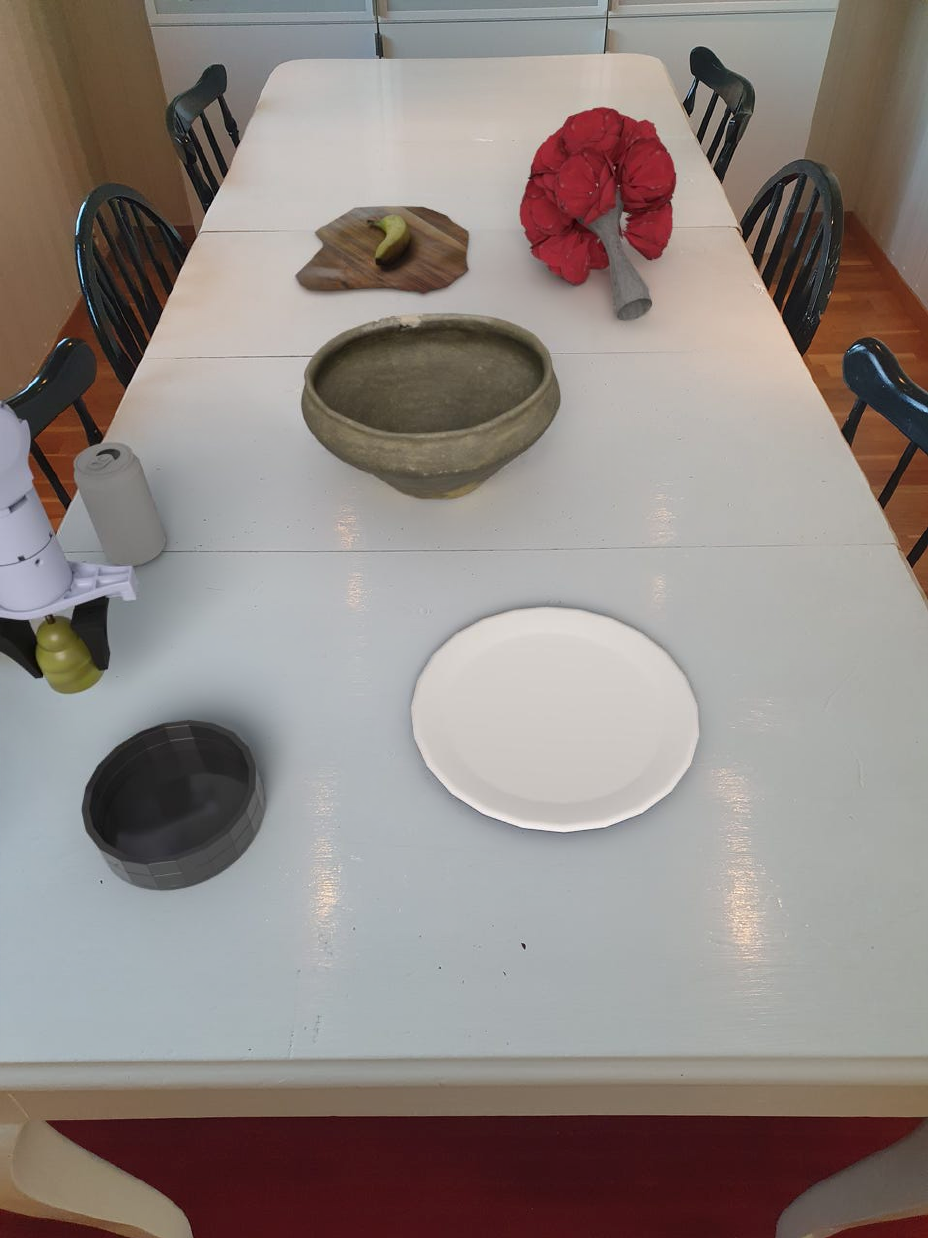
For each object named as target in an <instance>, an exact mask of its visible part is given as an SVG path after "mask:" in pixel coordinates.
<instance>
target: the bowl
mask: <svg viewBox="0 0 928 1238" xmlns="http://www.w3.org/2000/svg"><path fill="white" fill-rule="evenodd" d="M303 379H304V385H303V389H302V393H301V398H300V399H301V400H300V408H301V413H302V417H303V420H304V423H305V425H306V427H307V428H308V430H309V432H310V433H311V435H312V436H314V438H315V440H317V441H318V443H319V444H321V446H322V447H323V448H324V449H326V450H327V451H328V452H329V453H330V454H331V455H333V456H335V457H336V458H337V459H338V460H340V461H341V462H343V463H345V464H347V465H349V466H350V467H352V468H355V469H357V470H359V471H362V472H364V473H367V474H370V475H373V476H374V477H375V478H377V479H379V480H380V481H382V482H384V483H385V484H387V485H388V486H390V487H391V488H393V489H394V490H396V491H397V492H398V493H401V494H403V495H406V496H408V497H412V498H415V499H421V500H426V499H427V500H429V499H430V500H451V499H456V498H460V497H463V496H465V495H467V494H469V493H471V492H473V491H475V490H477V489H478V488H479V487H480V486H481V485H482V484H484V483H485V482H486V481H487V480H488V479H490V478H491V477H493V476H494V475H495V474H496V473H497V472H499V471H500V470H501V469H502V468H504V467H505V466H506V465H508V464H510V463H511V462H513V461H514V460H515V459H516V458H518V457H519V456H521V455H522V454H523V453H525V452H526V451H527V450H529V449H530V448H532V446H534V444H535V443H536V442H537V441H539V440H540V438H541V437H543V435H544V434H545V433H546V431H547V430H548V429H549V428H550V426H551V424H552V423H553V421H554V420H555V418H556V416H557V414H558V411H559V410H560V407H561V400H562V399H561V398H562V396H561V388H560V384H559V380H558V377H557V375H556V373H555V370H554V365H553V360H552V357H551V354H550V351H549V349H548V348H547V347H546V346H545V345H544V344H543V342H542V341H541V340H540V339H539V337H538V336H537V335H535V334H534V333H533V332H532V331H530V330H528V329H526V328H524V327H522V326H520V325H518V324H516V323H512V322H510V321H508V320H506V319H505V320H504V319H501V318H497V317H493V316H488V315H479V314H471V313H457V312H456V313H455V312H449V313H448V312H443V313H441V312H439V313H437V312H436V313H413V314H404V315H391V316H390V317H383V318H380V319H378V321H376V320H373V321H369V322H366V323H363V324H360V325H358V326H355V327H352V328H350V329H347V330H345V331H343V332H341V333H339V334H338V335H336V336H334V337H333V338H331V339H330V340H328V341H327V342H325V343H324V344H323V345H322V346H321V347H320V348H319V349H318V350H317V351H316V352H314V354H313V355H312V357H311V358H310V360H309V361H308V363H307V365H306V367H305V369H304V374H303Z"/></svg>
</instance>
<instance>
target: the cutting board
mask: <svg viewBox="0 0 928 1238" xmlns="http://www.w3.org/2000/svg"><path fill="white" fill-rule="evenodd" d="M314 233H315V235H316V236H317V237H318V238H319V239H320V240H321V241H322V247H321V248H320V249H319V250H318V251H317V252H316V253H315V254H314V255H313V257H312V258H311V259H310V260H309V261H308V262H307V263H306V264H305V265H304V266H303V267H302V268H301V269H300V270H299V271H298V272H297V273H296V274H295V275H294V276H295V278H296V280H297V281H298V282H299V285H300V286H302V287H304V288H306V289H308V290H314V291H315V290H317V291H337V290H350V289H367V288H368V289H369V288H370V289H371V288H389V289H396V290H403V291H416V292H419V293H421V294H426V293H427V292H428V291H432V290H437V289H440V288H446V287H447V286H448V285H450V284H451V283H453V282H454V281H455V280H456V279H458V278H459V277H460V276H461V275H462V274H464V273H465V272H467V271H468V270H469V267H468V262H467V253H468V252H467V250H468V244H469V230H467V229H466V228H464V227H462V226H461V225H459V224H457V223H456V222H455V221H453V220H451V218H450V217H449V216H448V215H446V214H443V213H442V212H440V211H436V210H434V209H431V208H428V207H425V206H415V205H414V206H413V205H412V206H411V205H408V206H407V205H406V206H405V205H394V206H393V205H380V206H379V205H377V206H358V207H353V208H351V209H350V210H348V211H347V212H345V213H344V214H342V215H340V216H339V217H337V218H335V219H333V220H332V221H330V222H329V223H327V224H325V225H322V226H321V227H319V228H318V229H317V230H315V231H314Z"/></svg>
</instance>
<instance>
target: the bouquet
mask: <svg viewBox="0 0 928 1238" xmlns="http://www.w3.org/2000/svg"><path fill="white" fill-rule="evenodd" d="M655 125H656V124H655V123H654V122H651V121H649V120H648V119H643V120H640V121H638V120H636V119H635V118H632V117H630V116H627V115H625V114H622V113H620V112H619V111H618V110H617V109H614V108H610V107H605V106H600V107H593V108H592V109H587V110H583V111H581V112H578V113H574V114H572V115H569V116H567V118H566V119H565V121H564V123H563V124H562V126H561V127H560V128H559V129H557V130H556V132H553V134H550V135H549V136H548V137H547V139H546V140H545V141H543V142H542V143H541V145H540V146H539V147H538V148H537V150H536V152H535V154H534V157H533V159H532V163H531V165H530V173H529V175H528V177H527V179H528V181H527V183H526V184H525V187H524V193H523V196H522V198H521V203H520V204H519V221H520V225H521V226H522V227H523V228H524V230H525V231H524V235H525V237H526V240H527V241H528V242H529V243H530V244H531V246H530V247H529V250H530V253H531V255H532V256H533V257H534V258H535V259H537V260H539V261H541V262H542V263H544V264H545V265H546V266H547V268H548V270H550V272H552V273H553V274H554V275H556V276H559V277H560V278H561V279H563V280H565V281H567V282H569V283H572V284H573V285H575V286H579V285H581V284H584V283H585V282H586V281H587V279H588V277H589V275H590V270H604V269H607V268H608V267H609V272H610V287H611V295H612V301H613V306H614V307H615V310H616V313H617V318H618V319H620V320H622V321H632V320H634V319H638V318H640V317H642V316H643V315H645V314H646V313H648V312H649V311H650V309H651V308H652V306H653V301H652V298H651V296H650V291H649V289H648V287H647V285H646V284H645V282H644V280H643V279H642V277H641V275H640V274H639V272H638V270H637V269H636V268H635V267H634V265H633V264H632V263H631V261H630V259H629V258H628V256H627V254H626V252H625V251H624V248H623V245H622V241H621V239H622V240H624V238H625V239H626V241H627V242H628V245H630V246H631V247H632V248H633V249H634V250H636V251H637V252H638V253H639V254H640V255H641V256H642V257H643V258H645V259H646V260H647V261H651V262H652V261H653V260H658V259H661V258H662V256H663V253H664V251H665V249H666V248H667V247H668V243H669V241H670V239H671V237H672V234H673V230H674V229H673V228H674V226H673V225H674V224H673V219H674V218H673V211H674V207H673V204H672V200H673V199H674V196H673V195H674V194H675V190H676V186H677V172H676V171H675V163H674V160H673V158H672V156H671V153H670V152H668V148H667V147H666V146H665V144H664V143H663V142H662V141H661V138H660V136H659V135H658V134H657V128H656V127H655ZM623 213H625V214H627V215H626V217H625V218H624V220H625V221H626V222H627V223H625V225H624V227H625V229H622V227H621V218H622V215H623Z"/></svg>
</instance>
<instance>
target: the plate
mask: <svg viewBox="0 0 928 1238" xmlns="http://www.w3.org/2000/svg"><path fill="white" fill-rule="evenodd" d="M410 715H411V722H412V731H413V732H412V733H413V739H414V741H415V744H416V746H417V748H418V750H419V752H420V755H421V757H422V759H423V762H424V763H425V765H426V768H427V769H428V770H429V771H430V772H431V774H432V775H433V776H434V777H435V778H436V779H437V780H438V782H439V783H440V784H441V785H442V786H443V787H444V788H445V789H446V790H447V792H448V793H449V794H450V795H451V796H453V797H455V798H456V799H458V800H459V801H460V802H462V803H464V804H465V805H466V806H468V807H469V808H471V809H473V810H474V811H476V812H477V813H479V814H481V815H482V816H484V817H486V818H490V819H493V820H495V821H499V822H501V823H503V824H507V825H510V826H513V827H515V828H518V829H521V830H529V831H537V832H538V831H539V832H547V833H557V834H570V833H571V834H572V833H580V832H586V831H595V830H603V829H608V828H610V827H613V826H615V825H617V824H620V823H623V822H625V821H628V820H631V819H633V818H636V817H638V816H641V815H643V814H645V813H646V812H648V811H649V810H650V809H651V808H652V807H654V806H655V805H656V804H658V803H659V802H661V801H662V800H663V799H665V798H666V797H667V796H669V795H670V794H671V793H672V792H673V790H674V789H675V788H676V786H677V785H678V784H679V782H680V781H681V779H682V778H683V776H684V775H685V774H686V773H687V771H688V770H689V768H690V767H691V765H692V761H693V758H694V755H695V751H696V748H697V745H698V741H699V738H700V724H699V706H698V703H697V701H696V698H695V695H694V693H693V690H692V687H691V684H690V683H689V680H688V678H687V676H686V674H685V673H684V672H683V670H681V668H680V667H679V666H678V664H677V663H676V662H675V660H674V659H673V658H672V657H671V656H670V654H669V652H667V651H666V650H664V649H663V648H662V647H661V646H659V645H658V644H657V643H656V642H655V641H653V640H652V639H651V638H650V637H648V636H647V635H646V634H644V633H643V632H642V631H640V630H637V629H635V628H633V627H632V626H629V625H628V624H626V623H623V622H621V621H619V620H617V619H615V618H613V617H610V616H606V615H603V614H599V613H595V612H591V611H587V610H585V609H580V608H571V607H560V606H536V607H526V608H515V609H510V610H507V611H505V612H501V613H498V614H494V615H491V616H488V617H485V618H481V619H479V620H478V621H476V622H474V623H472V624H470V625H469V626H467V627H465V628H463V629H461V630H459V631H458V632H456V633H454V634H453V635H452V636H451V637H450V638H449V639H447V640H446V641H445V643H443V644H442V645H441V646H440V647H439V648H438V649H437V650H436V651H435V652H434V653H433V654H431V656H430V658H429V660H428V661H427V663H426V664H425V666H424V667H423V669H422V671H421V672H420V675H418V678H417V680H416V684H415V688H414V693H413V696H412V701H411V706H410Z"/></svg>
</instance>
